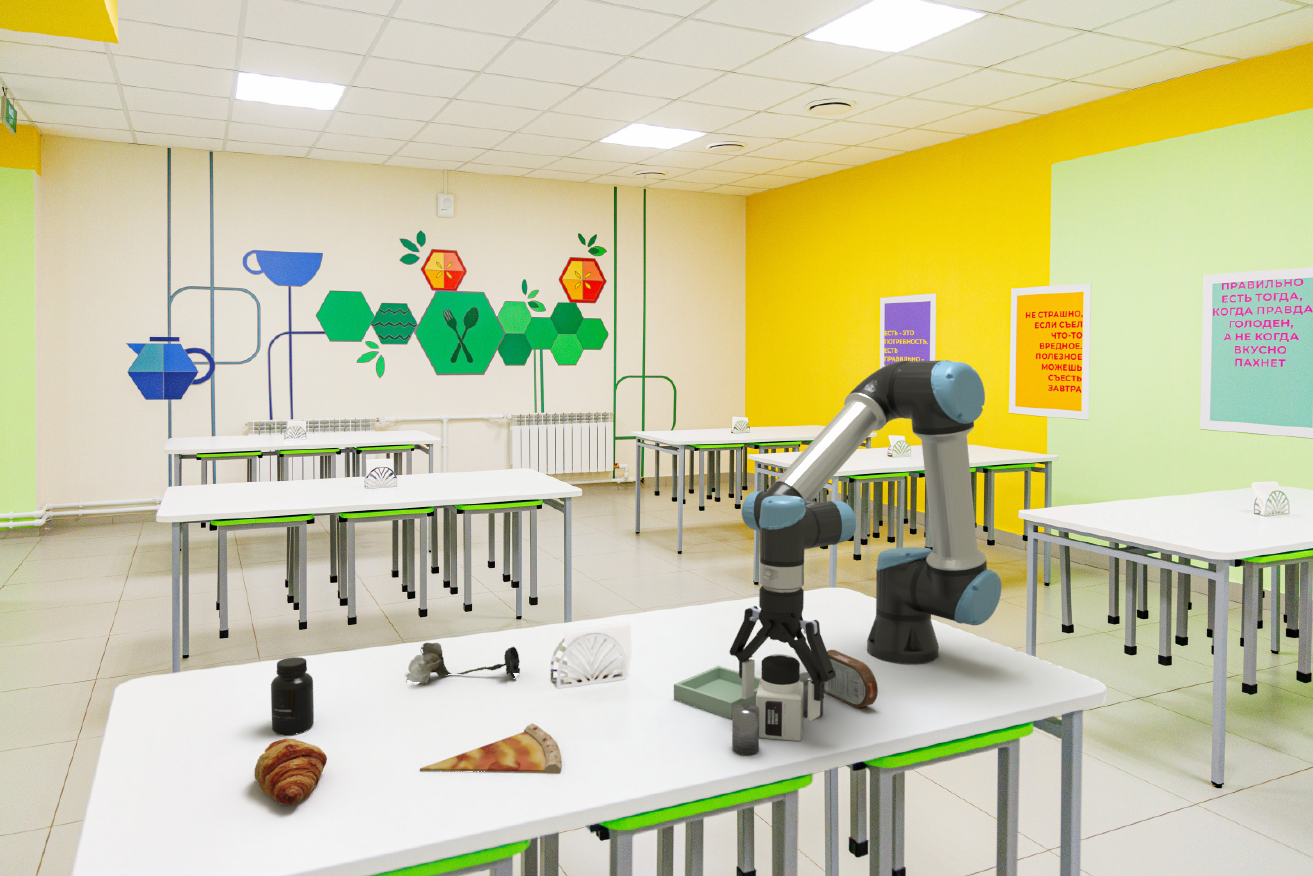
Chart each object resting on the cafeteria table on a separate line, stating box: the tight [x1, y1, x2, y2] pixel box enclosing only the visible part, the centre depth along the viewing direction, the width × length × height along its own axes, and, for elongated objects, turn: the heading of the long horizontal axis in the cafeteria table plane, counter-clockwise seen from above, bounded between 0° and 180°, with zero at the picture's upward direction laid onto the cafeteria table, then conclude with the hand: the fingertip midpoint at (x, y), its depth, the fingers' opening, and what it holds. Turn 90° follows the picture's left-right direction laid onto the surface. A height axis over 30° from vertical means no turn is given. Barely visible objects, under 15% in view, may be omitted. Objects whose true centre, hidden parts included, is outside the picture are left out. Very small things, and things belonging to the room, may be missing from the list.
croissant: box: [254, 737, 328, 806], centre depth 135 cm, size 21×10×8 cm, turn 26°
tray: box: [673, 665, 761, 720], centre depth 167 cm, size 14×14×3 cm
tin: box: [824, 649, 879, 709], centre depth 167 cm, size 15×3×8 cm, turn 31°
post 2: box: [800, 671, 824, 719], centre depth 160 cm, size 4×4×7 cm
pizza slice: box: [419, 723, 563, 774], centre depth 146 cm, size 16×22×2 cm
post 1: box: [731, 704, 760, 757], centre depth 145 cm, size 4×4×7 cm
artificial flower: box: [406, 642, 521, 684], centre depth 178 cm, size 9×22×10 cm, turn 88°
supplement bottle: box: [270, 656, 315, 736], centre depth 154 cm, size 7×7×12 cm
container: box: [756, 653, 804, 742], centre depth 153 cm, size 8×8×13 cm
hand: (780, 707), depth 153 cm, fingers open, 13 cm apart
